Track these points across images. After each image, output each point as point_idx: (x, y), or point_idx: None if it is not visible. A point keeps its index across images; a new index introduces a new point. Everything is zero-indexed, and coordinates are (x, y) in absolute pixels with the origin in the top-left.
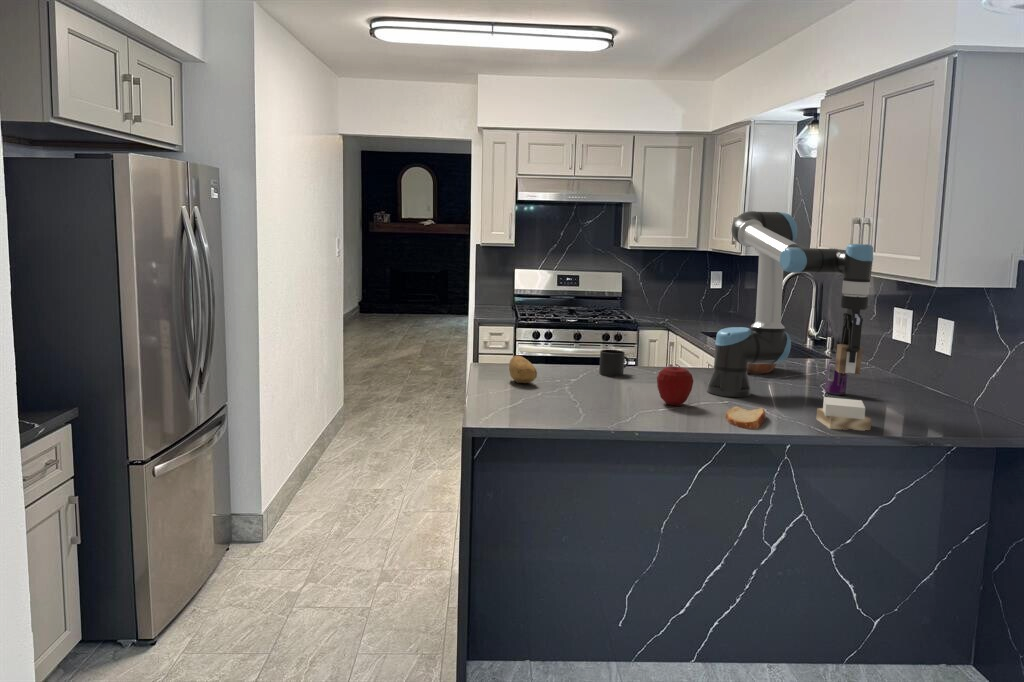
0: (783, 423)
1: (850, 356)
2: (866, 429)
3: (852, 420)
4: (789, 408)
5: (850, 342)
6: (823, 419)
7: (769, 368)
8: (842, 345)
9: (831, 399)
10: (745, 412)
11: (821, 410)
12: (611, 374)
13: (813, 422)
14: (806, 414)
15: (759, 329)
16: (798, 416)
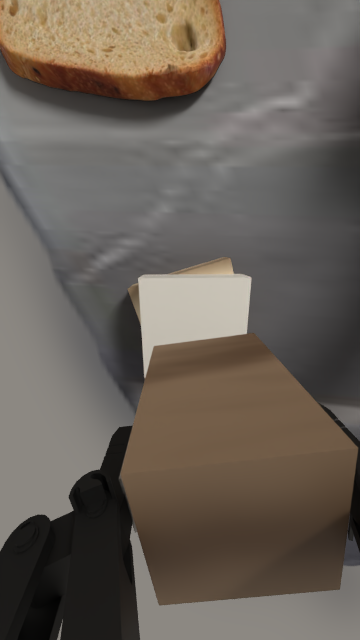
0: (131, 165)
1: (103, 463)
2: None
3: None
4: (331, 185)
5: (65, 624)
6: (177, 272)
7: None
8: (242, 487)
9: (221, 298)
10: (140, 7)
11: (204, 268)
12: None
13: (182, 248)
14: (268, 233)
15: None
16: (235, 210)
